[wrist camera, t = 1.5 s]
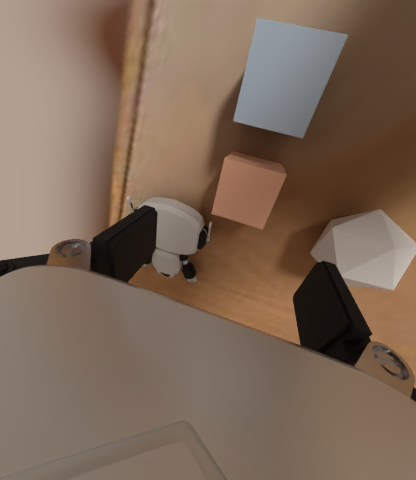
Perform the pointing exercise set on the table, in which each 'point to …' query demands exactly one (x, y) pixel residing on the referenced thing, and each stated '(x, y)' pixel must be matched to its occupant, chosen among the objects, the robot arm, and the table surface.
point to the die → (366, 249)
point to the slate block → (286, 76)
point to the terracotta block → (248, 189)
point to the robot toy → (176, 236)
